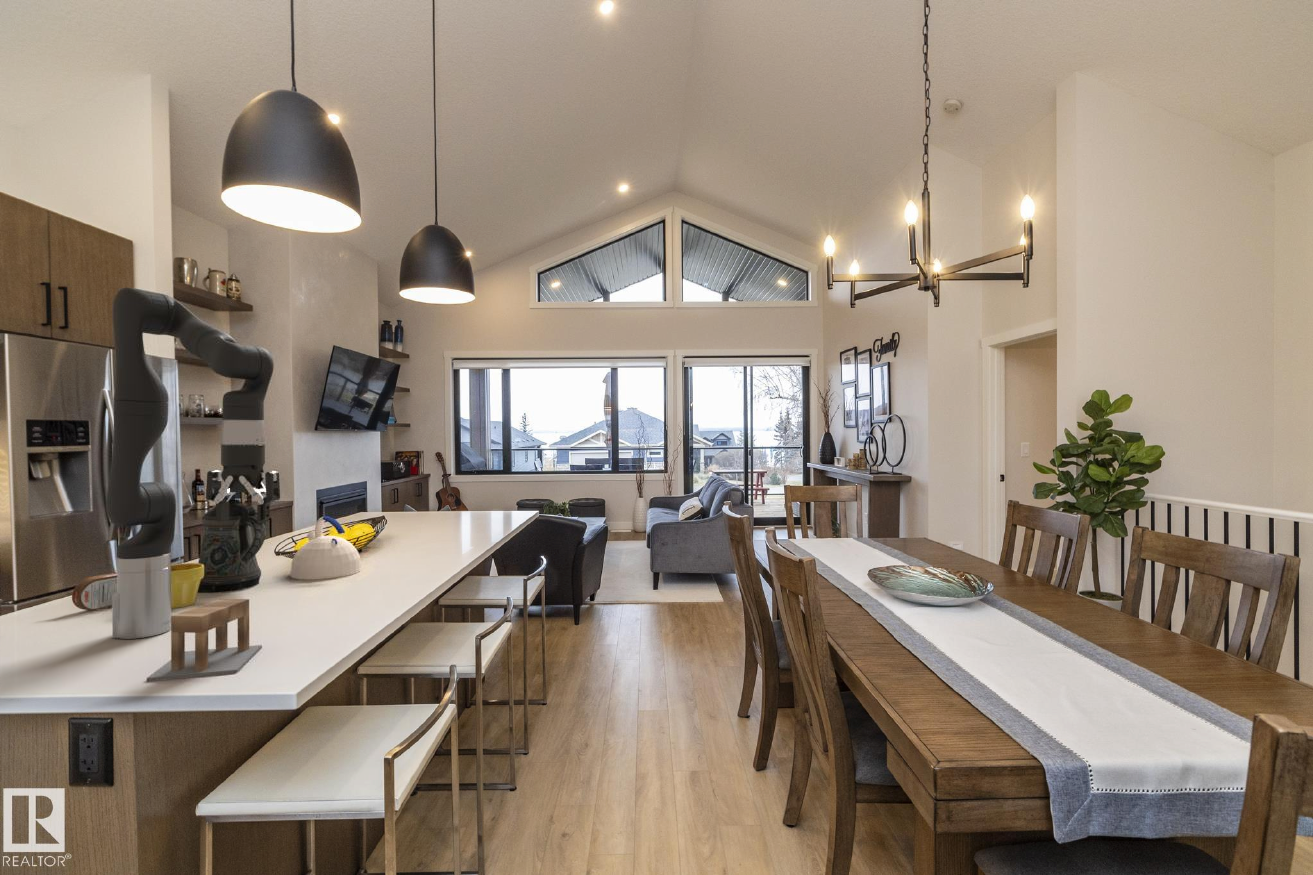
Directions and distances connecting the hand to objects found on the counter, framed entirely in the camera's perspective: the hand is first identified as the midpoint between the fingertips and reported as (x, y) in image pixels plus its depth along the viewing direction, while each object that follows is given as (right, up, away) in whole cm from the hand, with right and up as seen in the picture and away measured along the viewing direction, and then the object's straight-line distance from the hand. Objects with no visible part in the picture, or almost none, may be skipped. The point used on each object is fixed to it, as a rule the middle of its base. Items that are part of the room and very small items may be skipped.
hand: (243, 521), depth 127 cm
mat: (-1, -26, -8) cm, 27 cm away
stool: (-1, -20, -1) cm, 20 cm away
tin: (-55, -26, +32) cm, 69 cm away
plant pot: (-39, -26, +34) cm, 58 cm away
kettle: (-21, -26, +72) cm, 79 cm away
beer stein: (-39, -26, +54) cm, 71 cm away
